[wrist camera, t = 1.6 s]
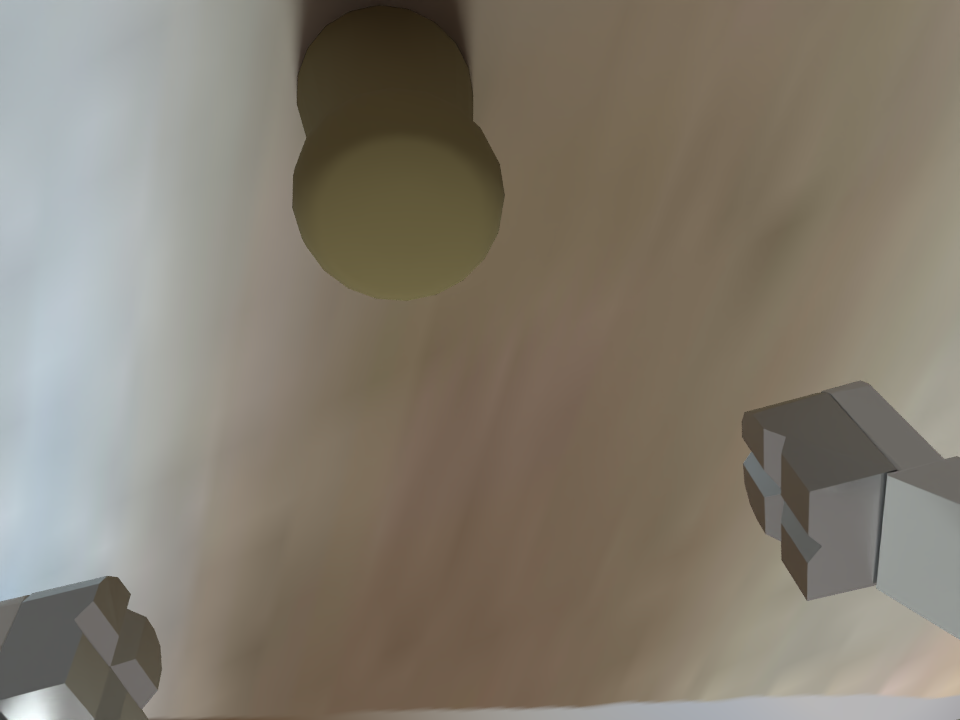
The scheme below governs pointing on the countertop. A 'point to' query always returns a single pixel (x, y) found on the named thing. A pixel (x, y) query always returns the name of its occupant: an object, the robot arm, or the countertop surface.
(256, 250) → the countertop surface
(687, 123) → the countertop surface
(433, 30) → the cork
